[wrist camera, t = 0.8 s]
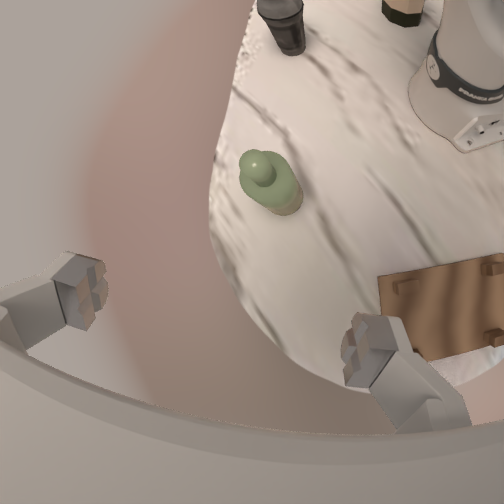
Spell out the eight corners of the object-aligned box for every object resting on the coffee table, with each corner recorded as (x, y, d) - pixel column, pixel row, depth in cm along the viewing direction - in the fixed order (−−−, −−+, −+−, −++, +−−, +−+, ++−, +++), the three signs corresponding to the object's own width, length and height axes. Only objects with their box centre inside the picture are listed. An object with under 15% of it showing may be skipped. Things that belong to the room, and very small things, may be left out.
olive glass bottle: (299, 173, 45) (277, 129, 29) (306, 211, 44) (287, 185, 28) (261, 181, 46) (220, 143, 30) (267, 218, 46) (227, 197, 30)
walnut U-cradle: (500, 253, 35) (516, 252, 30) (503, 338, 34) (518, 345, 29) (377, 276, 41) (382, 278, 36) (384, 367, 40) (389, 379, 35)
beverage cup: (304, 30, 45) (283, -48, 26) (318, 55, 44) (301, -27, 25) (268, 41, 47) (235, -34, 28) (280, 66, 46) (248, -12, 27)
